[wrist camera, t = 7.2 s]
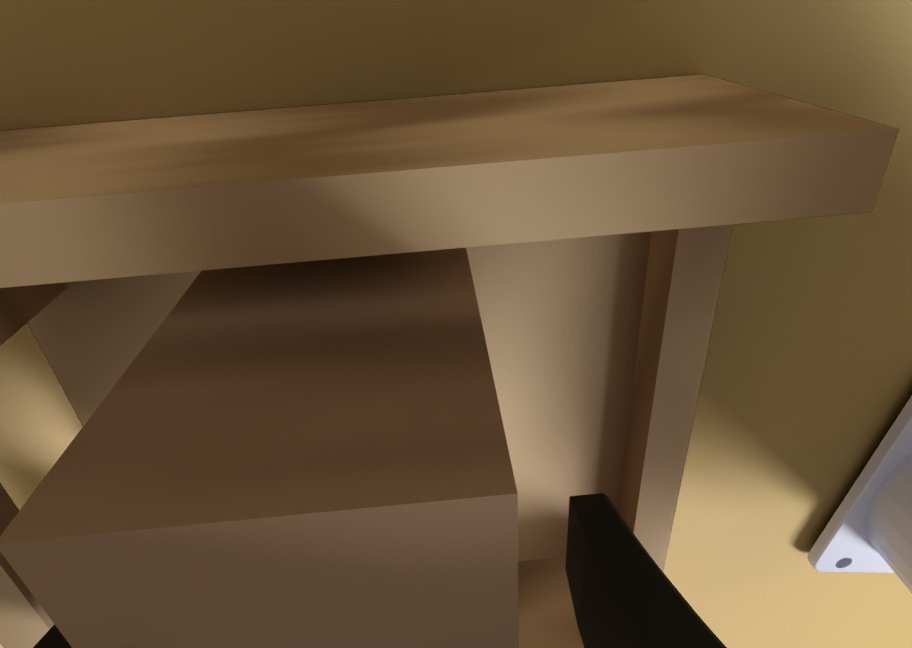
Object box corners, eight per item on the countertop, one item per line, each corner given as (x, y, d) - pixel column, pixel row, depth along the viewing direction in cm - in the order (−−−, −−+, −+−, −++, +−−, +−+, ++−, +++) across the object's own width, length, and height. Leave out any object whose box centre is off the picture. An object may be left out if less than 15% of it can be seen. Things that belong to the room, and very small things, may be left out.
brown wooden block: (223, 241, 9) (-6, 543, 4) (460, 221, 9) (517, 494, 4) (330, 599, 15) (284, 932, 9) (482, 584, 15) (520, 905, 9)
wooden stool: (704, 74, 11) (898, 128, 6) (632, 547, 18) (702, 722, 14) (-38, 134, 10) (-353, 233, 6) (193, 591, 18) (122, 785, 13)
